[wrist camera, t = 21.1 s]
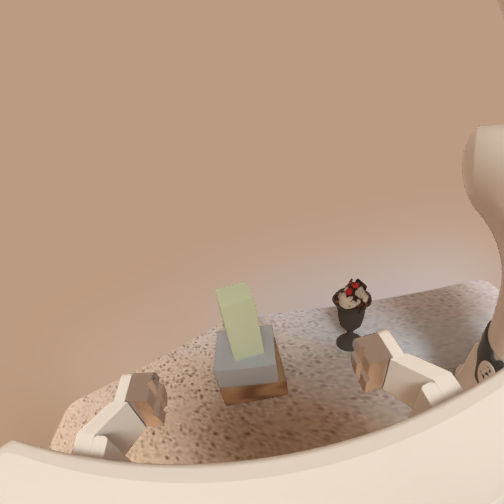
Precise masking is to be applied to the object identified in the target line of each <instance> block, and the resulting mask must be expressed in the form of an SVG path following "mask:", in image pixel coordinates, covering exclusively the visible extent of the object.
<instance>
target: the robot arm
mask: <svg viewBox="0 0 504 504" xmlns="http://www.w3.org/2000/svg"><path fill="white" fill-rule="evenodd" d="M498 2H499V5H500V8H501V11H502V14H503V17H504V0H498ZM462 175H463V181H464V186H465V189H466V193H467V195H468V197H469V199H470V201H471V203H472V205H473V206H474V208H475V210H476V211H477V212H478V213H479V214H480V215H481V216H482V218H483V219H484V220H485V222H486V223H487V225H488V226H489V228H490V230H491V232H492V234H493V236H494V238H495V241H496V243H497V246H498V249H499V253H500V258H501V264H502V281H501V287H500V292H499V297H498V301H497V305H496V308H495V311H494V315H493V317H492V320H491V321H490V322H489V323H488V325H487V327H486V329H485V330H484V332H483V334H482V337H481V339H480V341H479V342H476V343H475V344H474V346H473V348H472V350H471V352H470V354H469V355H468V357H467V359H466V361H465V363H464V364H460V365H458V367H457V368H456V370H455V374H454V376H453V374H452V373H451V372H450V371H447V370H445V369H443V368H440V367H438V366H436V365H434V364H431V363H429V362H427V361H424V360H422V359H420V358H418V357H415V356H413V355H411V354H409V353H406V354H404V352H403V351H402V349H401V348H400V346H399V345H398V344H397V342H396V341H395V339H394V338H393V336H392V335H391V333H390V332H389V331H388V330H383V331H380V332H376V333H373V334H370V335H366V336H363V337H359V338H356V339H354V340H353V345H352V346H353V348H354V351H353V352H352V356H351V360H352V366H353V369H354V372H355V374H356V375H358V376H360V379H359V383H360V385H361V387H362V389H363V391H364V393H367V392H370V391H373V390H377V389H380V388H383V389H384V390H386V391H387V392H389V393H390V394H392V395H393V396H395V397H396V398H398V399H399V400H401V401H402V402H404V403H405V404H407V405H408V406H410V407H411V408H413V409H412V411H411V413H410V415H409V418H408V419H405V420H403V421H400V422H398V423H395V424H392V425H390V426H387V427H384V428H382V429H379V430H376V431H373V432H370V433H367V434H364V435H361V436H358V437H354V438H351V439H348V440H344V441H341V442H337V443H333V444H330V445H326V446H322V447H317V448H313V449H309V450H304V451H299V452H294V453H289V454H284V455H278V456H272V457H266V458H259V459H251V460H243V461H233V462H221V463H204V464H150V463H134V462H132V461H131V460H130V459H128V458H127V457H126V456H125V455H126V454H127V452H128V451H129V450H130V448H131V447H132V446H133V444H134V443H135V442H136V440H137V439H138V438H139V436H140V435H141V434H142V432H143V431H144V430H145V428H146V426H164V423H165V415H166V413H165V412H164V410H163V409H164V408H165V407H166V406H167V392H166V389H165V387H164V385H163V384H161V383H159V379H160V378H159V376H158V375H157V373H129V374H123V375H122V376H121V379H120V382H119V385H118V388H117V392H116V395H115V398H114V402H110V403H109V404H108V405H107V406H106V407H105V408H104V409H102V410H101V411H100V412H99V413H98V414H97V415H96V416H95V417H94V418H93V419H92V420H91V421H90V422H88V423H87V424H86V425H85V426H84V427H83V428H82V429H81V430H80V431H79V432H78V433H77V437H76V440H75V443H74V446H73V450H72V453H71V454H69V453H64V452H59V451H55V450H50V449H46V448H42V447H38V446H34V445H31V444H28V443H24V442H21V441H18V440H11V441H10V442H8V443H6V444H5V445H3V446H2V447H1V448H0V504H504V124H495V125H484V126H479V127H478V128H477V129H476V130H475V131H474V132H473V134H472V135H471V136H470V138H469V140H468V142H467V144H466V147H465V150H464V153H463V160H462Z"/></svg>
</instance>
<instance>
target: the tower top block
mask: <svg viewBox="0 0 504 504" xmlns="http://www.w3.org/2000/svg"><path fill="white" fill-rule="evenodd" d="M260 332H261V337H262V342H263V348H264V353H262V354H259V355H255V356H252V357H249V358H245V359H241V360H238V361H235V360H234V357H233V354H232V350H231V347H230V344H229V340H228V337H227V333H226V331H218V335H217V343H216V352H215V360H214V369H213V372H214V374H215V377H216V380H217V382H218V385H219V387H220V388H223V387H235V386H246V385H256V384H265V383H273V382H279V379H278V369H277V360H276V351H275V342H274V335H273V329H272V325H267V326H260Z"/></svg>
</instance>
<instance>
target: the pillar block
mask: <svg viewBox="0 0 504 504" xmlns="http://www.w3.org/2000/svg"><path fill="white" fill-rule="evenodd" d="M215 293H216V296H217V300H218V304H219V308H220V311H221V315H222V319H223V322H224V326H225V330H226V333H227V337H228V340H229V344H230V347H231V350H232V354H233V357H234V360H235V361H238V360H241V359H245V358H249V357H252V356H255V355H259V354H262V353H264V348H263V342H262V337H261V332H260V326H259V321H258V316H257V311H256V305H255V300H254V297H253V295H252V293H251V291H250V289H249V287H248V285H247V283H246V282H243V283H239V284H235V285H232V286H227V287H224V288H220V289H216V290H215Z"/></svg>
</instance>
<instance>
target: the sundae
mask: <svg viewBox="0 0 504 504" xmlns="http://www.w3.org/2000/svg"><path fill="white" fill-rule="evenodd" d="M366 288H367V286H366V285H365V284H364V283H363V282H361V281H360V280H359V279H357V280H356V281H355V282H352V279H351V280H350V281H349V284H348V285H347V286H346V287H345V288H343V289H340V290H339V291H338V292H336V294H335V295H334V296H333V298H332V300H333V302H334V304H335V305H336V306H337V309H338V316H339V321H340V325H341V326H342V327H343V328H344V329H345V330H347V333H345V334H342V335H340V336H339V337H338V339H337V346H338V347H339V348H340V349H342V350H345V351H354V348H353V346H352V345H353V340H354V339H356V338H359V337H360V336H359V335H357V334H355V333H353V330H355V329H357V328H359V327H360V326H361V324H362V321H363V318H364V313H365V309H366V307H368V306H369V305H370V304H371V301H372V300H371V295H370V294H369V293H368V292H367V291H365V290H366Z"/></svg>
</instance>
